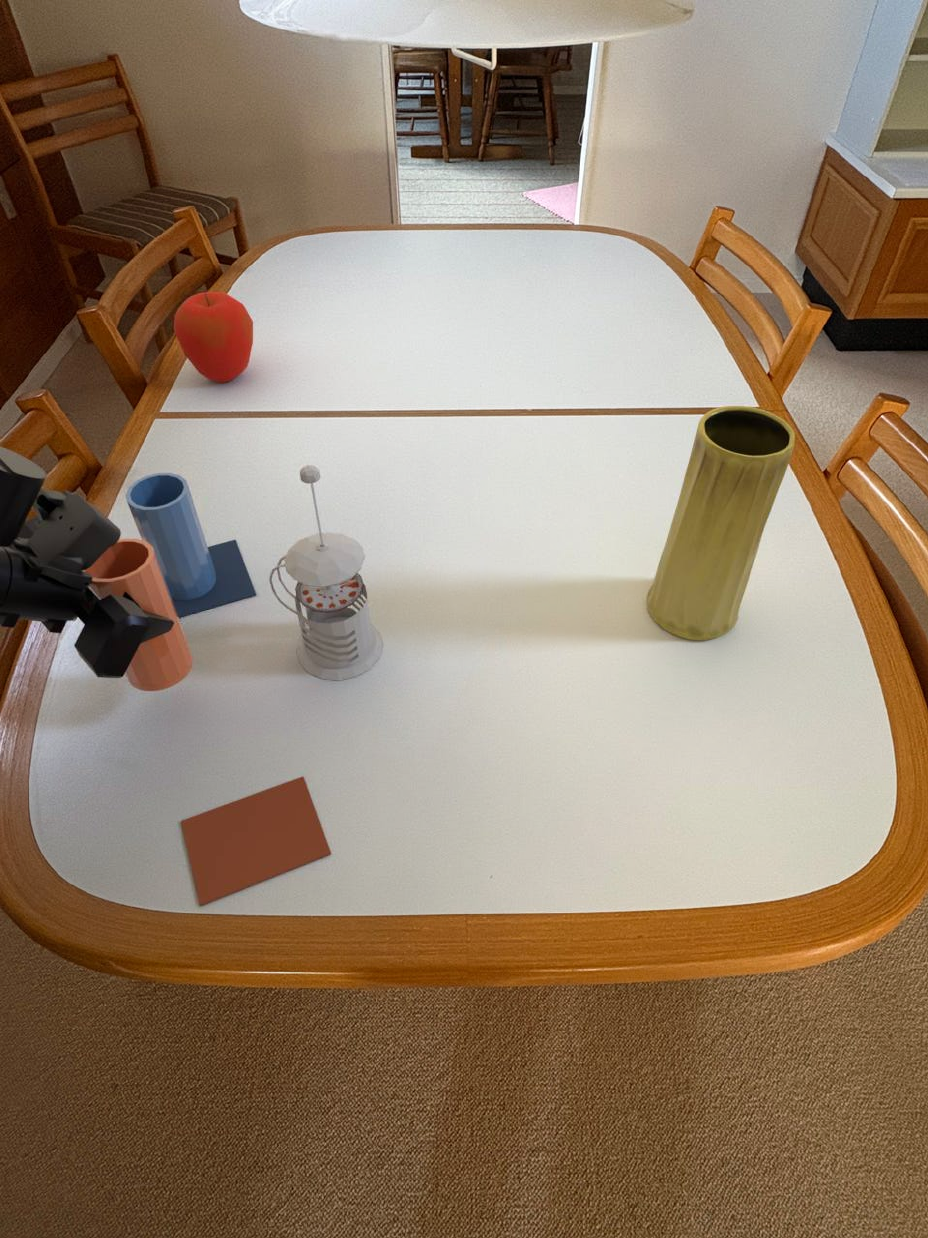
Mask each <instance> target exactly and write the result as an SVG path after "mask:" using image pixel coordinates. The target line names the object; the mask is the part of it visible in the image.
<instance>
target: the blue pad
mask: <svg viewBox="0 0 928 1238" xmlns="http://www.w3.org/2000/svg"><path fill="white" fill-rule="evenodd" d="M207 547H208V550H209V553H210V556H211V560H212V563H213V566H214V569H215V573H216V582H215V585H214V586H213V588H212V589H211V590H210V591H209V592H207V593H206V594H205V595H203V596H201V597H199V598H196V599H192V600H185V601H180V600H174V599H172V600H173V603H174V606H175V609H176V611H177V614H178V617H179V619H180V618H183V617H187V616H190V615H195V614H197V613H201V612H205V611H207V610H211V609H214V608H217V607H222V606H224V605H229V604H231V603H234V602H239V601H242V600H245V599H248V598H249V599H250V598H252V597H256V596H257V593H256V590H255V587H254V585H253V582H252V579H251V577H250V575H249V572H248V569H247V566H246V564H245V561H244V557H243V556H242V553H241V550H240V547H239V545H238V543H237V540H236V539H231V540H228V541H224V542H221V543H217V544H213V545H209V546H207Z"/></svg>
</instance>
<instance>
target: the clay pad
mask: <svg viewBox="0 0 928 1238" xmlns="http://www.w3.org/2000/svg"><path fill="white" fill-rule="evenodd" d="M180 823H181V827H182V831H183V836H184V840H185V845H186V849H187V854H188V857H189V863H190V867H191V871H192V876H193V880H194V884H195V889H196V892H197V897H198V898H197V899H198V902H199V906H200V907H202V906H205V905H207V904H210V903H212V902H215V901H217V900H221V899H223V898H225V897H228V896H230V895H232V894H235V893H237V892H241V891H242V890H245V889H248V888H250V887H252V886H255V885H257V884H260V883H262V882H264V881H268V880H270V879H272V878H275V877H278V876H280V875H283V874H285V873H287V872H290V871H292V870H295V869H298V868H300V867H302V866H305V865H308V864H310V863H313V862H314V861H318V860H320V859H323V858H325V857H328V856H330V855H332V852H331V849H330V847H329V844H328V841H327V837H326V835H325V832H324V830H323V827H322V824H321V821H320V818H319V816H318V813H317V810H316V808H315V804H314V802H313V799H312V795H311V793H310V791H309V789H308V785H307V782H306V780H305V776H304V775H302V776H300V777H297V778H293V779H292V780H288V781H286V782H283V783H281V784H277V785H275V786H273V787H270V788H267V789H264V790H262V791H259V792H256V793H253V794H251V795H247V796H246V797H242V798H240V799H237V800H234V801H231V802H229V803H226V804H224V805H221V806H217V807H215V808H212V809H209V810H207V811H204V812H201V813H198V814H196V815H194V816H190V817H188V818H185V819H181V821H180Z"/></svg>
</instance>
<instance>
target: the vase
mask: <svg viewBox="0 0 928 1238" xmlns="http://www.w3.org/2000/svg"><path fill="white" fill-rule="evenodd" d="M795 442H796V433H795V431H794V429H793V428H792V426H791V425H790V424H789V423H788V422H787V421H786V420H785V419H783V418H781V417H780V416H778V415H776V414H775V413H772V412H770V411H768V410H764V409H761V408H757V407H753V406H744V405H728V406H727V405H726V406H720V407H716V408H713V409H711V410H709V411H707V412H706V413H705V414H703V415H702V416H701V418H700V419H699V421H698V424H697V427H696V433H695V436H694V441H693V445H692V448H691V452H690V456H689V460H688V463H687V466H686V469H685V470H686V471H685V474H684V478H683V482H682V485H681V488H680V493H679V495H678V500H677V504H676V507H675V509H674V513H673V517H672V520H671V522H670V523H671V524H670V527H669V530H668V534H667V537H666V540H665V544H664V547H663V550H662V553H661V556H660V559H659V562H658V566H657V570H656V571H655V576H654V578H653V582H652V584H651V586H650V587H649V590H648V592H647V595H646V608H647V610H648V612H649V614H650V616H651V618H652V619H653V620H654V622H656V624H657V625H659V626H660V627H661V628H662V629H664V630H665V631H667V632H668V633H670V634H672V635H675V636H677V637H679V638H682V639H687V640H691V641H692V640H694V641H708V640H713V639H714V640H715V639H717V638H720V637H722V636H725V635H726V634H728V633H729V632H730V631H731V630H733V628H734V627H735V625H736V624H737V622H738V619H739V611H740V608H741V604H742V601H743V598H744V595H745V592H746V589H747V586H748V583H749V580H750V577H751V574H752V570H753V566H754V563H755V560H756V557H757V553H758V551H759V548H760V547H759V546H760V543H761V539H762V537H763V534H764V530H765V527H766V524H767V522H768V519H769V516H770V514H771V512H772V509H773V506H774V504H775V500H776V498H777V495H778V493H779V490H780V488H781V485H782V482H783V480H784V477H785V475H786V472H787V469H788V466H789V464H790V461H791V458H792V455H793V451H794V447H795V444H796V443H795Z"/></svg>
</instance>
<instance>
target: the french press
mask: <svg viewBox="0 0 928 1238" xmlns="http://www.w3.org/2000/svg"><path fill="white" fill-rule="evenodd" d="M299 477H300V481H301V482H302V483H304V484H310V488H311V494H312V499H313V505H314V511H315V516H316V521H317V523H316V524H317V528H318V532H319V533H315V534H310V535H309V536H306V537H304V538H301V539H299V540H297V542H295V543H294V544H293V545H292V546H291V547H290V548H289V549H288V551H287V552H286V554H285V555H283V556H282V557H281V558H280V559H279V561H278V562H277V564H276V566H275V567H274V568H272V570H271V572H270V574H269V579H268V580H269V584H270V588H271V591H272V593H273V595H274V596H275V598H276V599H277V600H278V602H279V603H280V604H281V605H282V606H283V607H284V608H286V609H287V610H288V611H290V612H292V613H293V614H295V615H297V619H298V624H299V627H300V632H301V636H300V638H299V642H298V644H297V647H296V654H297V659H298V663H299V664H300V665H301V666H302V667H303V669H304V670H305V671H306V672H307V673H308V674H310V675H312V676H314V677H316V678H319V679H321V680H329V681H336V682H337V681H343V680H349V679H353V678H356V677H358V676H360V675H362V674H363V673H365V672H367V671H369V670H370V669H372V667H373V666H374V665H375V664H376V663H377V662H378V660H379V659H380V658H381V654H382V650H383V648H384V647H383V646H384V643H383V639H382V636H381V632H380V631H379V630H378V629H377V628H376V627H375V626H374V625H373V624H372V622H371V621H372V620H371V612H370V605H369V598H368V592H367V588H366V585H365V583H364V580H363V577H362V576H361V574H359V572H360V571H361V569H362V568H363V565H364V562H365V558H366V555H365V551H364V548H363V546H362V545H361V544H360V543H359V542H358V541H357V540H356V539H355V538H353V537H351V536H349V535H346V534H344V533H339V532H328V531H327V532H322V528H321V521H320V515H319V511H318V505H317V499H316V494H315V493H316V492H315V486H314V483H317V482H319V481H320V479H321V472H320V469H319V468H318V467H317V466H316V465H312V464H307V465H305V466H303V467H302V468H301V469H300V470H299ZM283 561H284V563H283V564H282V562H283ZM283 567H284V569H285V572H286V573H287V574H288V575H289V576H290V577H291V579H292V580H294V581H296V585H295V588H294V591H295V594H293V593H292V592H291V591H289V589H288V588H287V586H286V585H285V583H284V581H283V579H282V577H281V571H280V568H283ZM275 572H277V577H278V581H279V582H280V583H281V586H282V587H283V588H284V590H285V591H286V593H287V594H288V595H290V597H292V598H293V599H294V603H295V609H293V608H292V607H290V606H289V605H287V604H286V603H285V602H283V600H282V599H281V598H280V597H279V596H278V594H277V592H276V590H275V588H274V584H273V575H274V573H275ZM360 600H361V601H360ZM355 603H357V604H358V605H359V606H360V607H359V606H358V605H357V604H355ZM301 605H302V606H303V607H304V608H305V609H304V610H305V613H306V616H304V615H303V614H304V613H303V610H302V606H301ZM351 606H352V607H354V608H355V609H356V610H357V611H356V610H355V609H353V608H351ZM306 626H308V627H306Z"/></svg>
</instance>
